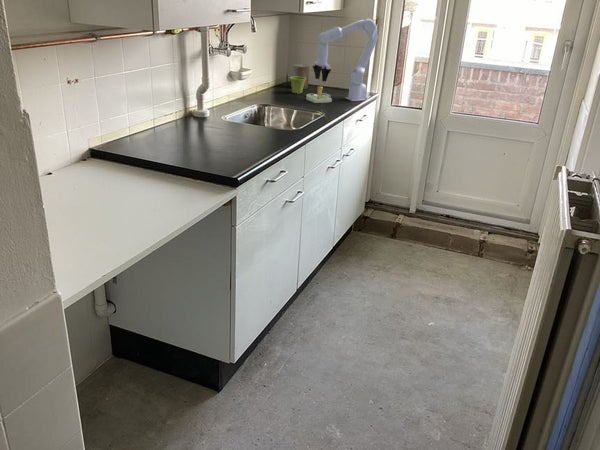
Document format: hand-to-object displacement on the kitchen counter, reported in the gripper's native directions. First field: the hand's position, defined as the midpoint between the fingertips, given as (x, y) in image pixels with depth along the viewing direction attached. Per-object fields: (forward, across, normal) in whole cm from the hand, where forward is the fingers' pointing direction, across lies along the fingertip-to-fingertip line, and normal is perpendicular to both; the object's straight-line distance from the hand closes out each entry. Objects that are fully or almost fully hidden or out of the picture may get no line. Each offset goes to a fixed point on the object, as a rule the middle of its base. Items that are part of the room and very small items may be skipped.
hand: (320, 80), depth 303 cm
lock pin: (+9, +8, -5) cm, 13 cm away
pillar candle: (+10, -28, +2) cm, 29 cm away
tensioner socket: (+10, 0, +3) cm, 10 cm away
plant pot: (+10, -15, -7) cm, 19 cm away
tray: (+10, +8, -5) cm, 14 cm away
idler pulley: (+10, -2, -4) cm, 11 cm away
